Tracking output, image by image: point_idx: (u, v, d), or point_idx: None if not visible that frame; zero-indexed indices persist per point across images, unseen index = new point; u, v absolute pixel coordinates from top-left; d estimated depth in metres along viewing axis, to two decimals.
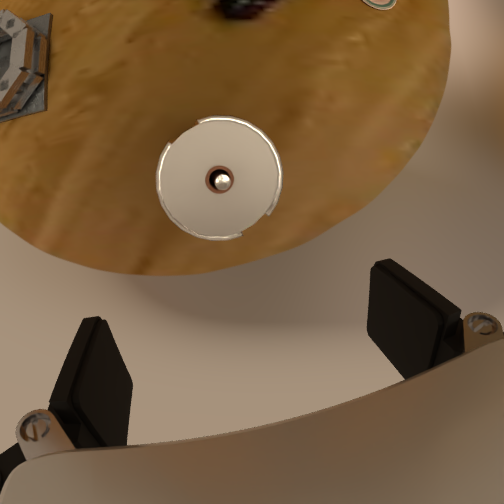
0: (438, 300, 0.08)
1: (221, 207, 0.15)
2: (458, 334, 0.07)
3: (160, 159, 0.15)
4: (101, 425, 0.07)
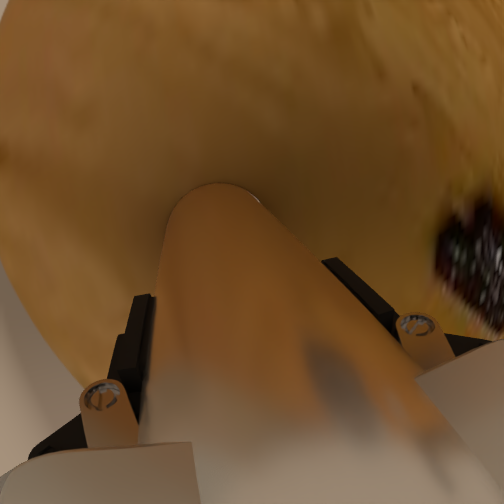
0: (372, 299, 0.08)
1: None
2: (394, 334, 0.08)
3: None
4: None
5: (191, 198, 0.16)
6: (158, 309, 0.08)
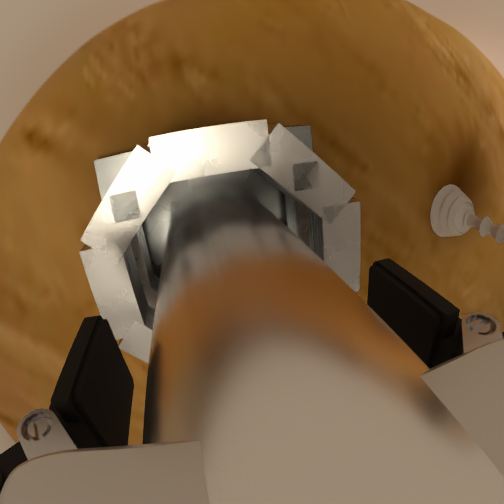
0: (436, 300, 0.08)
1: None
2: (457, 334, 0.07)
3: None
4: (102, 424, 0.07)
5: (193, 196, 0.17)
6: (164, 293, 0.09)
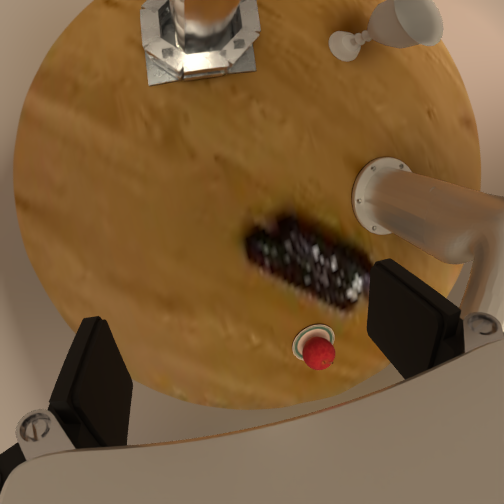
0: (438, 300, 0.08)
1: None
2: (458, 334, 0.07)
3: None
4: (101, 425, 0.07)
5: None
6: None
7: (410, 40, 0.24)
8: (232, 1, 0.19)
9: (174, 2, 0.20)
